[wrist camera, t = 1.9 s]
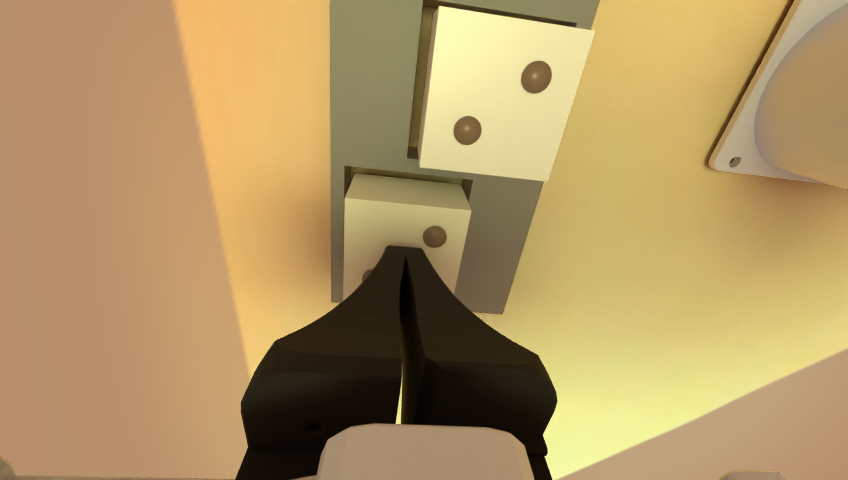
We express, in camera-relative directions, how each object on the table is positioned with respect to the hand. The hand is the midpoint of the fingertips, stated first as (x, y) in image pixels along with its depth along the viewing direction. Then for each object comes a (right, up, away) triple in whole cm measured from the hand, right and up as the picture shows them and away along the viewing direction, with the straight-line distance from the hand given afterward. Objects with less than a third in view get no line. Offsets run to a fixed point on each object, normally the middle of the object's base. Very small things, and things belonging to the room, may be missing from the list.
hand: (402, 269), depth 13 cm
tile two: (+3, +7, +1) cm, 7 cm away
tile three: (0, +2, +3) cm, 4 cm away
